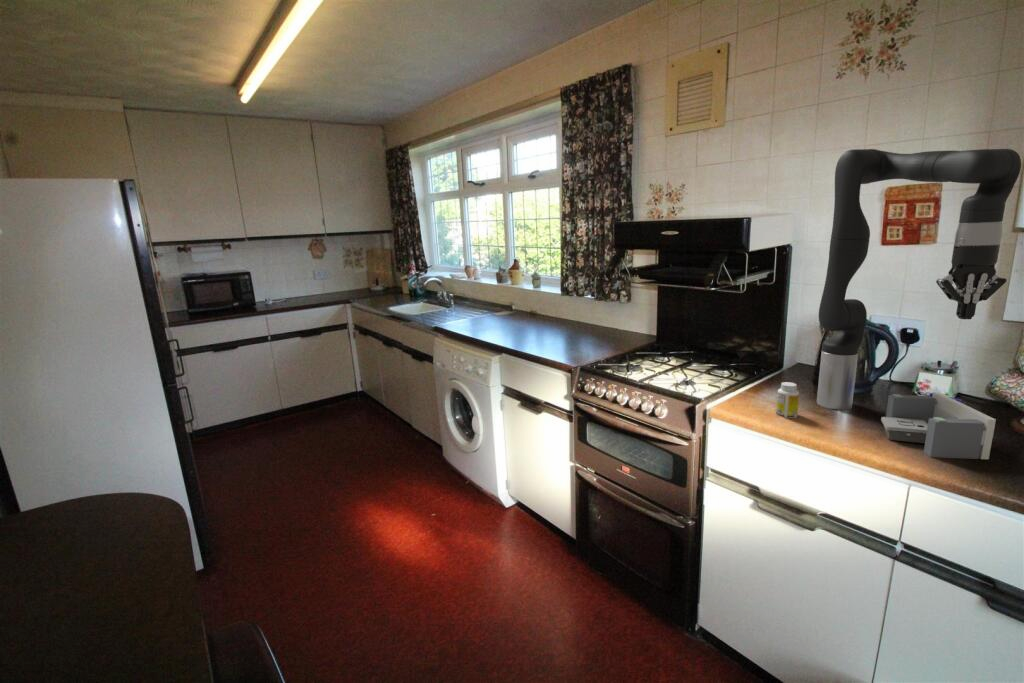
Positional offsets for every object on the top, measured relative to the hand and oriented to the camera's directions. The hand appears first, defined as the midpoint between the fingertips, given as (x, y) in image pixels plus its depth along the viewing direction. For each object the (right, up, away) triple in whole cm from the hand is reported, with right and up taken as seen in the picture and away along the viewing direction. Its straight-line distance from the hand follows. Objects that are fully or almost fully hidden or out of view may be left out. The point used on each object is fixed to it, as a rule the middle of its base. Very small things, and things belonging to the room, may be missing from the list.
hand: (964, 318), depth 111 cm
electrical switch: (+2, -31, +13) cm, 34 cm away
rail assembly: (+2, -31, +12) cm, 33 cm away
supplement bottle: (-23, -28, +32) cm, 48 cm away
